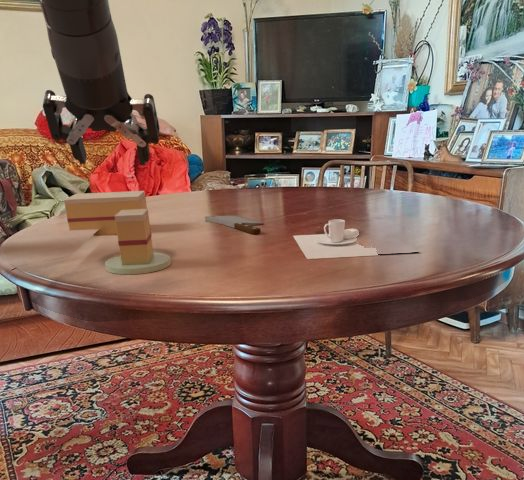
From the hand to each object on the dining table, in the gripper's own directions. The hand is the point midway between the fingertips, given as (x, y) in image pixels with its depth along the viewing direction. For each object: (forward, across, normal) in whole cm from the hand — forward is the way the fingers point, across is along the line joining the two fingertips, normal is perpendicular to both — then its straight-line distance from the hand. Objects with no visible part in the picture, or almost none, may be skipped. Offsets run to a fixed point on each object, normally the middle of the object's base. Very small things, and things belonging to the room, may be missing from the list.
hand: (113, 160), depth 74 cm
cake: (+40, +9, -19) cm, 46 cm away
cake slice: (+17, -2, +6) cm, 18 cm away
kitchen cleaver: (+38, -21, -19) cm, 48 cm away
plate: (+18, -2, +6) cm, 19 cm away
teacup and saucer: (+21, -40, -2) cm, 46 cm away
